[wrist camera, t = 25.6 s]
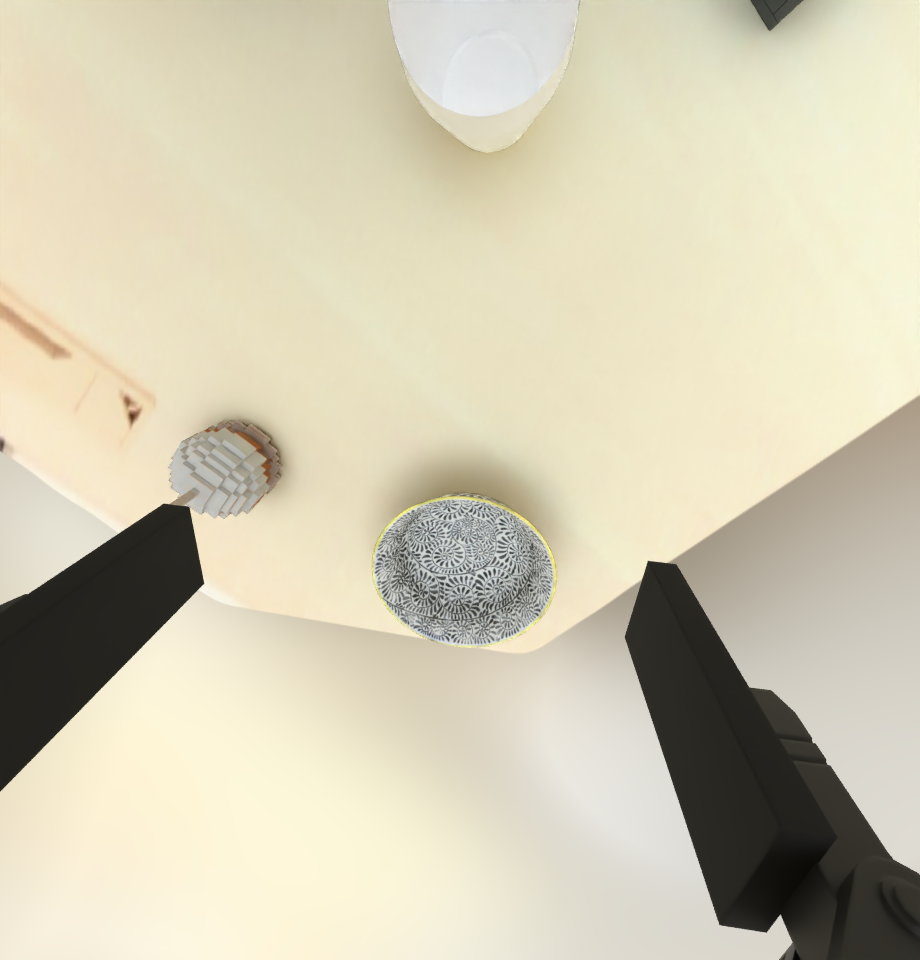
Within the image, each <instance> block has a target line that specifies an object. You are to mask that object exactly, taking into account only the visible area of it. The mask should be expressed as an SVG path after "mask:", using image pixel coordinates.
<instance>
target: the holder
mask: <svg viewBox="0 0 920 960" xmlns="http://www.w3.org/2000/svg"><path fill="white" fill-rule="evenodd" d="M751 1H752V3H753V5H754V6H755V8H756V9H757V11H758V13H759V14H760V16H761V18H762V19H763V21H764V22H765V24H766V26H767V27H768V29H769V30H772V29H773V28H774V27H775V26H776V25H777V24H778V23H779V22H780V21H781V20H782V19H783V18H784V17H786V16H787V15H788V14H789V13H790V12H791V11H792V10H793V9H794V8H795V7H796V6H797V5H798V4H800V3H801V2H802V1H803V0H751Z"/></svg>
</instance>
